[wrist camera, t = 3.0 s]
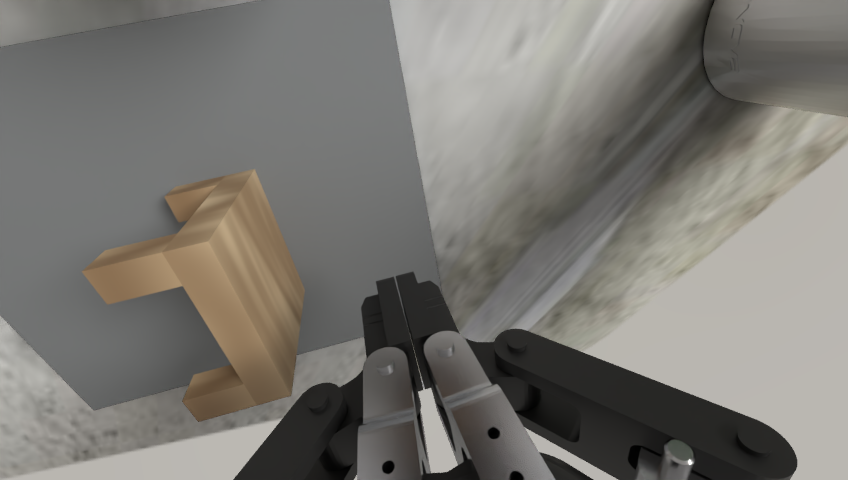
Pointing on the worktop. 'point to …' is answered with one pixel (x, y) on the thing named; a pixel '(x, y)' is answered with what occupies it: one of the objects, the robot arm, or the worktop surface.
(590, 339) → the worktop surface
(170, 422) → the worktop surface
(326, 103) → the mat
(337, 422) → the robot arm
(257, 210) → the wooden bench
